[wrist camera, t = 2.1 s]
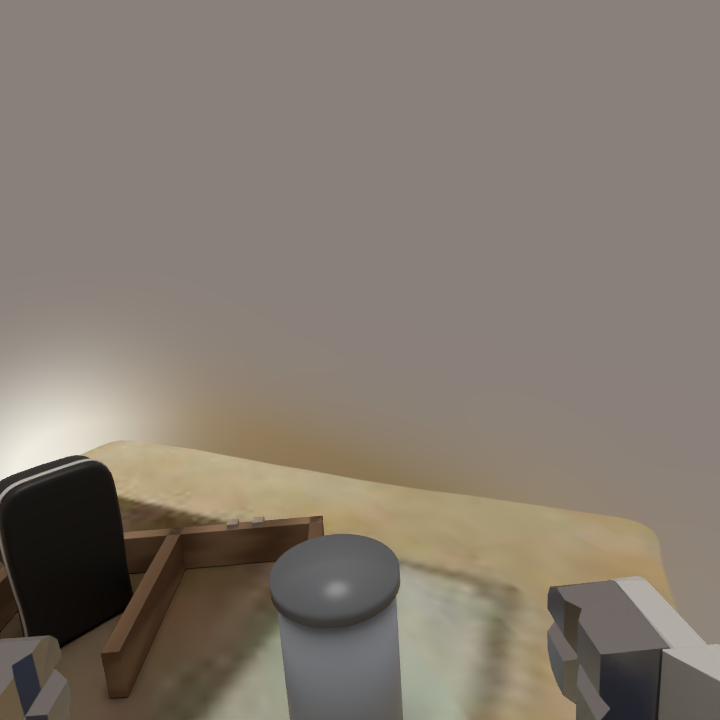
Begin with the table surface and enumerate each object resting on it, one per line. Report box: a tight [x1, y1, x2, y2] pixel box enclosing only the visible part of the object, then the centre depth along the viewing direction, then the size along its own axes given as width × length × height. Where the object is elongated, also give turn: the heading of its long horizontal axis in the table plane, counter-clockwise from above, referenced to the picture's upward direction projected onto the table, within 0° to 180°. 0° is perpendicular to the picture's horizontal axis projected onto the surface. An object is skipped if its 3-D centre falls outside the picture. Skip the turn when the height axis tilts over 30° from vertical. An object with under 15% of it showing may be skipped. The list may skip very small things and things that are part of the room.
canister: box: [269, 534, 403, 720], centre depth 23 cm, size 5×5×11 cm
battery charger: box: [0, 455, 133, 646], centre depth 35 cm, size 7×4×11 cm, turn 140°
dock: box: [0, 516, 324, 698], centre depth 36 cm, size 23×13×3 cm, turn 93°
